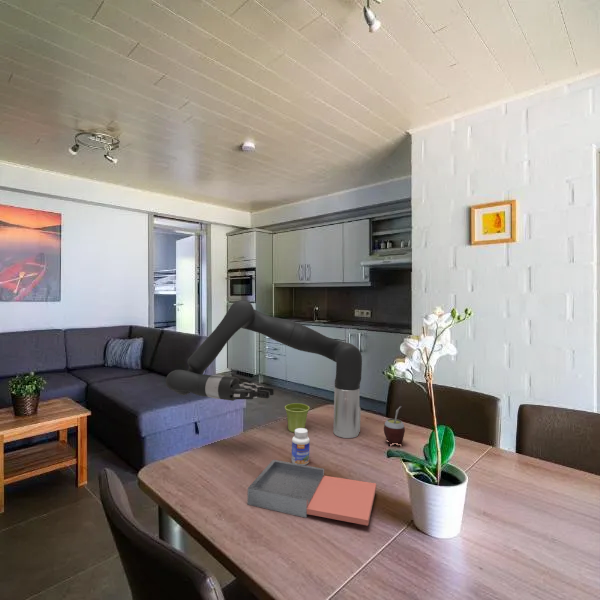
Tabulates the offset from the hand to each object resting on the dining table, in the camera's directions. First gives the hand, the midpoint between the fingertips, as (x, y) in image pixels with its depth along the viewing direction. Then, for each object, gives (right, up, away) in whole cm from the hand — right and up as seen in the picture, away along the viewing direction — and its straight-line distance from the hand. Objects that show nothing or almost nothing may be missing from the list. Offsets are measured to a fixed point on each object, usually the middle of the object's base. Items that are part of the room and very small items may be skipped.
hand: (271, 393), depth 112 cm
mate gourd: (+42, -21, +12) cm, 48 cm away
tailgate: (+13, -19, -22) cm, 32 cm away
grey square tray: (+6, -21, -20) cm, 29 cm away
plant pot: (+8, -20, +23) cm, 31 cm away
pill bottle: (+9, -21, -3) cm, 23 cm away
